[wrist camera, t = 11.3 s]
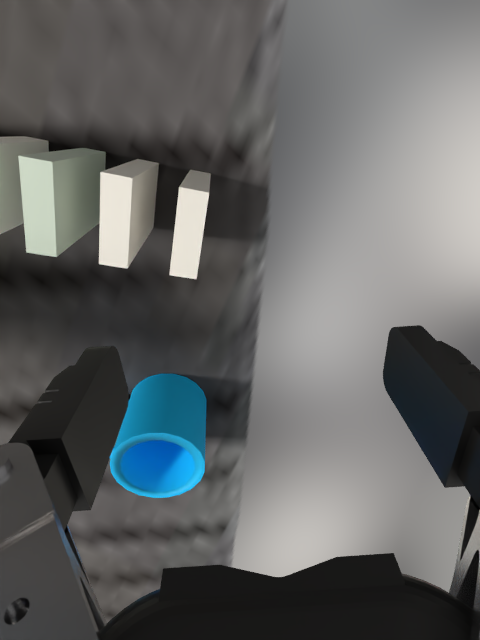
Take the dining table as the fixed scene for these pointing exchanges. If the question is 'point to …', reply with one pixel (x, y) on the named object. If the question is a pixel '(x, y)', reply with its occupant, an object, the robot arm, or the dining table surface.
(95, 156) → the domino
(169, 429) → the mug
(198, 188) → the domino
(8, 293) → the dining table surface
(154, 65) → the dining table surface
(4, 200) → the domino
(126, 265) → the domino
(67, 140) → the dining table surface
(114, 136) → the dining table surface
